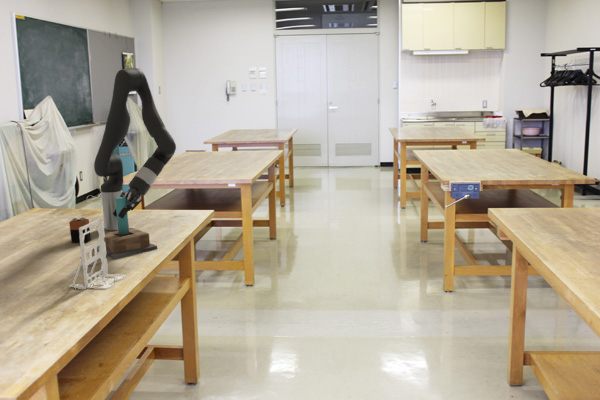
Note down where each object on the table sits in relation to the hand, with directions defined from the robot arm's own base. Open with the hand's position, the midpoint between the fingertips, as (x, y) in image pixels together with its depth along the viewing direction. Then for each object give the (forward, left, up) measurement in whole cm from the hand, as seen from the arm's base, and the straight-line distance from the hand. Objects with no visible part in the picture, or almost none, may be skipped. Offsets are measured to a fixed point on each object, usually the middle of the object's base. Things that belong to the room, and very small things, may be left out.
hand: (117, 216), depth 226 cm
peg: (0, +2, -7) cm, 7 cm away
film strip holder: (+29, -22, -14) cm, 39 cm away
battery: (-25, -5, -14) cm, 29 cm away
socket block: (0, +2, -14) cm, 14 cm away
